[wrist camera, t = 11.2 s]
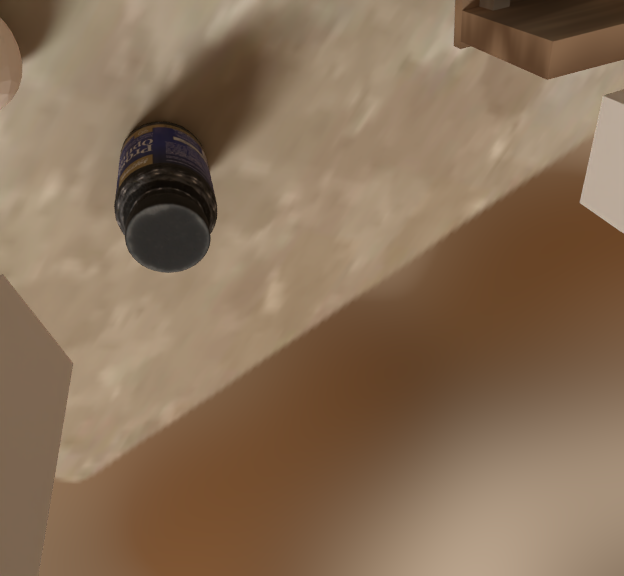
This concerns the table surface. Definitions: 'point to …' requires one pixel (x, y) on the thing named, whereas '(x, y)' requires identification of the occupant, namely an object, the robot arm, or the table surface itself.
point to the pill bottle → (165, 197)
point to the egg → (9, 65)
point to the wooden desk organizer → (543, 32)
